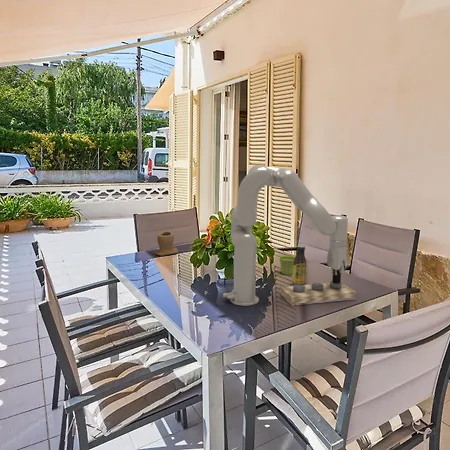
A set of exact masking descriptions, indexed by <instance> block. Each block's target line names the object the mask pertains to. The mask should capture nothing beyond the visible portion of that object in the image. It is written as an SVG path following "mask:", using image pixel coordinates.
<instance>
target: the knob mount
mask: <svg viewBox="0 0 450 450" xmlns="http://www.w3.org/2000/svg"><path fill="white" fill-rule="evenodd" d="M312 284H313V283H311V284H305V285H304V286H305V292H301V293H298V292H294V291H293V285H288V286H280V289H279V291H280V293H279V295H280V294H281V295H282V296H283V297H284V298H285V299H286V300H288V301H289V302H290V303H291V304H298V303H307V302H318V301H327V300H334V299H342V298H352V297H355V298H356V296H357V295H356V293H357V291H355V290H354V289H353V288H350V287H349V286H348V285H345V284H343V283H342V288H340V289H333V288H331V287H330V282H326V283H325V282H324V283H321V284H323V285H324V287H323V290H322V291H315V290H312ZM282 296H281V297H282ZM283 297H282V298H283ZM284 298H283V299H284ZM285 299H284V300H285ZM286 300H285V301H286Z"/></svg>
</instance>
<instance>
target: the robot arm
mask: <svg viewBox="0 0 450 450" xmlns="http://www.w3.org/2000/svg"><path fill="white" fill-rule="evenodd" d="M266 186H267V187H276V188H277V187H278V188H281V189H282V191H283V192H284V194H286V196H288V198H289V200H290V201H291V202H292V203H293V204H294V206H295V207H296V208H297V209H298V210H299V211H301V212H302V213H303V214H305V215H306V216H307V217H308V218H309V219H310V220H311V222H310V226H311V227H312V229H313V230H314V231H316V232H318V233H320V234H321V235H324V236H329V239H328V240H329V244H328V247H327V248H328V249H327V257H326V259H327V261H326V265H327V266H328V267H330V268H331V272H332V273H331V274H332V280H331V281H332V282H333V283H340V282H341V279H342V278H341V277H342V274H345V270H346V269H347V266H348V264H347V263H348V258H347V255H348V253H347V252H348V251H347V246H348V245H347V243H348V225H349V222H348V221H349V220H348V219H349V218H348V217H347V216H344V215H337V214H336V215H331V214H330V213H329V211H328V210H327V209H326V208H325V206H323V205H322V204H321V202H320V201H319V200H318V199H317V198H316V197H315V196H314V195H313V194H312V192H311V191H310V190H309V189H308V188H307V186H306V185H305V184H304V182H303V181H302V179H300V177H299V176H298V174H297V173H296V172H295V171H294V170H292V169H290V168H282V167H281V168H280V167H273V166H266V165H260V164H257V165H253V166H252V167H251V168H249V170H248V173H247V174H246V175H245V176H244V178H243V179H242V181H241V182H240V184H239V188H238V194H237V202H236V203H237V204H236V205H235V207H233V210H232V213H231V222H230V223H231V226H230V240H231V243H232V245H233V246H234V250H233V251H234V253H233V289H232V290H231V291H230V292H223V293H222V297H223V299H224V298H226V299H229V301H230V302H231V304H233V305H235V306H244V307H248V306H254V305H257V304H258V303H259V301H260V298H259V297H258V296H257V295H256V273H257V272H256V271H257V270H256V268H257V267H256V266H257V265H256V263H257V261H256V259H257V251H258V241H257V238H256V236H255V235H254V234H253V232H252V230H253V226H254V225H256V223H257V222H256V221H257V217H258V214H257V213H258V198H259V194H260V191H261V190H262V188H263V187H266ZM341 283H342V282H341Z"/></svg>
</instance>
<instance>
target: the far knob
mask: <svg viewBox="0 0 450 450" xmlns="http://www.w3.org/2000/svg"><path fill="white" fill-rule="evenodd" d="M329 283H330V287H331V288H333V289H340V288H342V284H343V283H342V282H340V283H333V282H332V280H331V281H329Z"/></svg>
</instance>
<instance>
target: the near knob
mask: <svg viewBox="0 0 450 450" xmlns="http://www.w3.org/2000/svg"><path fill="white" fill-rule="evenodd" d="M292 286H293V291H294V292H298V293H301V292H305V286H304V285H300V284H296V285H293V284H292Z"/></svg>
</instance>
